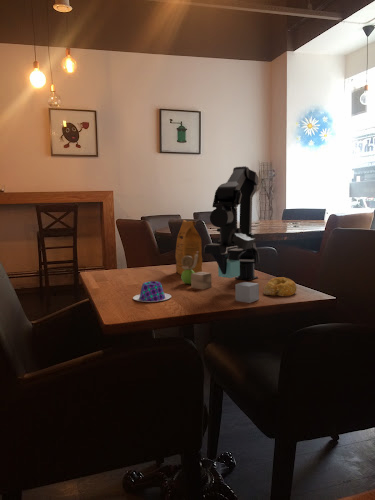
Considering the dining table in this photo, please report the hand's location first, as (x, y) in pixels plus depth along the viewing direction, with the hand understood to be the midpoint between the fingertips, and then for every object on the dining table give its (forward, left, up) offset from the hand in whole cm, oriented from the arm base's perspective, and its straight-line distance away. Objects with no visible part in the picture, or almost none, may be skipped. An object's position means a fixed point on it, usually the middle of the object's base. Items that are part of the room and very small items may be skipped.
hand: (229, 272), depth 136 cm
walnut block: (0, -12, -6) cm, 14 cm away
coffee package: (-18, -34, -7) cm, 39 cm away
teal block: (0, 0, -1) cm, 1 cm away
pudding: (+21, -14, -7) cm, 27 cm away
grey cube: (+6, +11, -6) cm, 14 cm away
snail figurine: (-2, -19, -6) cm, 20 cm away
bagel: (-8, +14, -7) cm, 17 cm away
